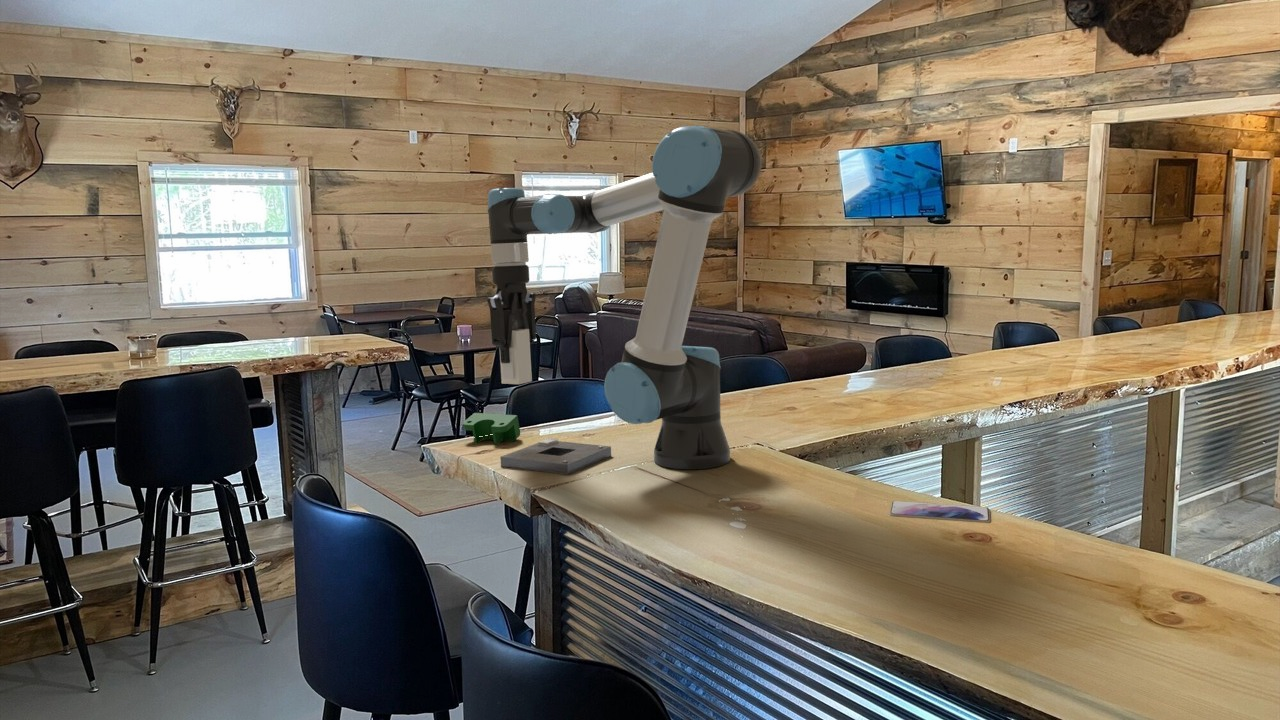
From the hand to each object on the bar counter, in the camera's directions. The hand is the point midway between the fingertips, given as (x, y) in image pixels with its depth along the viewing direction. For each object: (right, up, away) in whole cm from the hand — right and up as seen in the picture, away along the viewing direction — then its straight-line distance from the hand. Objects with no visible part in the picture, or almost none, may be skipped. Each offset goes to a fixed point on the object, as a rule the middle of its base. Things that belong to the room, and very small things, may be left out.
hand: (516, 376), depth 193 cm
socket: (+9, -17, -6) cm, 20 cm away
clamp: (-7, -15, +14) cm, 22 cm away
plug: (0, -1, 0) cm, 1 cm away
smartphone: (+73, -21, -47) cm, 89 cm away
